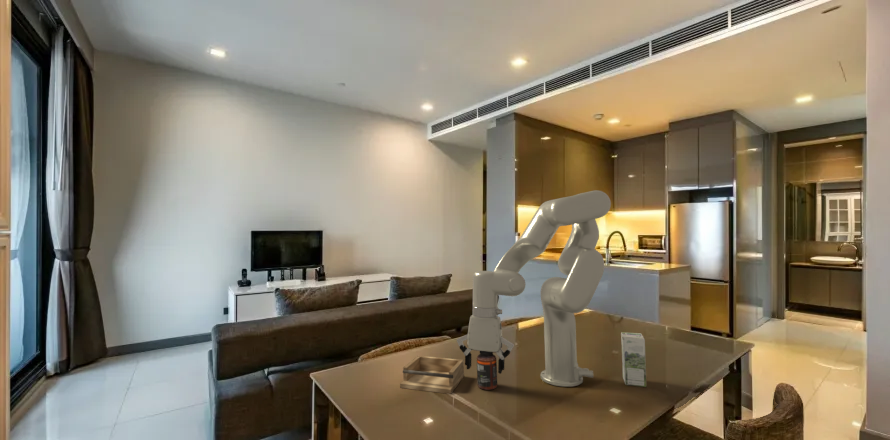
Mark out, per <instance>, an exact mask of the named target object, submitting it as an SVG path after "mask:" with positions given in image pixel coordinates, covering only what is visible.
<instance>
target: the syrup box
mask: <svg viewBox="0 0 890 440" xmlns="http://www.w3.org/2000/svg"><path fill="white" fill-rule="evenodd" d="M620 336H621V338H620V340H621V361H622V363H621V364H622V365H621V366H622V379H623V382H624V384H625V386H633V387H643V388H647V369H646V368H647V366H646V363H647V362H646V361H647V360H646V339H645V338H644V337H645V336H644V335H643V334H642V333H638V332H622V331H621V333H620Z"/></svg>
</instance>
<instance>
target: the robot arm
mask: <svg viewBox="0 0 890 440" xmlns="http://www.w3.org/2000/svg"><path fill="white" fill-rule="evenodd" d="M611 206H612V202H611V199H610V197H609V195H608V194H607V193H606V192H604V191H603V190H597V189H596V190H591V191H586V192H581V193H577V194H574V195H571V196H570V195H569V196H566V197H565V196H564V197H560V198H555V199H550V200H546V201H544V202H543V203H542V204H540V206H539V207H538V208H537V210H536V211H535V213H534V215H533V217H532V218H531V219H530V221H529V223H528V225H527V226H526V228H525V229H524V230H523V233H522V234H521V236H520V237H519V238H518V239H517V240H516V241H515V242H514V243H513V245H512V246H511V247H510V248H509V249H508V250H507V251H506V252H505V254H503V256H502V257H501V259H500V260H499V262H498V264H497V265H496V266H495V268H494V270H493V271H491V270H477V271H475V272H473V275H472V315H470V317H469V323H468V330H467V334H465V335H463V336H460V337H459V338H457V339H456V343H457V345H458V346H459V349H460V350H461V352H462V353H463V356H464V365H465V366H466V370H470V369H471V368H472V353H471V351H476V352H477V351H478V352H480V351H486V352H493V353H496V355H497V356H498V357H499V358H498V361H497V364H498V368H497V369H498V370H497V374H500V375H501V374H502V372H503V371H505V359H506V358H507V357H508V356H509V355H510V354H511V352H512V351H513V348H514V346H515V344H514V343H512V342H511V341H510V340H508V339H506V338H505V337H503V329H502V328H503V327H502V320H501V317H500V316H499V315H502V314H503V309H501V308H499V306H498V297H499V296H505V297H517V296H520V295H521V294H522V293H523V292H524V291H525V288H526V280H525V278H524V277H523V276H522V274H520V273H519V272H520V271H521V269H523V267H524V266H525V265H526V264H527V263H528V262H530V261H531V260H534V259H535V258H537V257H538V256H540V255H541V254H543V253H544V252H545V251H546V249H547V247H548V246H549V245H550V242H551V241H552V239H553V238H554V236H555V234H556V233H557V231H558V229H559V228H560V227H563V226H565V227H566V226H571V232H570V234H569V237H568V239H567V241H566V244H565V246H564V248H563V250H562V252H561V254H560V255H559V258H558V260H557V267H558V269H559V272H561V273H562V274H563V275H565V276H567V277H566V278H565V277H561V276H560V277H558V276H553V277H549V278H547V279H546V280H545V281H544V282H543V283H542V285H541V288H540V301H541V305H542V312H543V313H542V314H543V326H544V327H543V336H544V365H545V366H544V367H545V369H544V370H542V371H541V372H540V379H541V380H542V381H544V382H545V383H547V384H550V385H552V386H557V387H563V388H564V387H565V388H567V387H568V388H569V387H576V386H579V385H581V384H583V382H584V377H587V378H594V370H589V368H586V367H584V368H582V367H581V366H579V363H578V356H577V355H578V354H577V332H576V331H577V327H576V326H577V325H576V317H575V314H579V313H581V312H583V311H584V310H585V309H586V308H587V307H588V306H589V304H590V303H591V301H592V300H593V299H592V298H593V297H594V295H595V293H596V290H597V289H598V286H599V284H600V282H601V279H602V277H603V275H604V271H605V259H604V257H603V255H602V254H601V253H600V251H598V250H597V249H596V247H597V244H598V240H599V238H600V229H599V226H598V223H597V221H596V219H600V218H603V217H604V216H606V215H607V214H608V213H609V211H610V209H611ZM464 341H467V344H466V345H467V347H466V345H465V344H464ZM503 345H505V347H507V349H506V350H505V351H504V350H503Z"/></svg>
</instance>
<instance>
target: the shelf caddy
mask: <svg viewBox="0 0 890 440" xmlns="http://www.w3.org/2000/svg"><path fill="white" fill-rule="evenodd" d="M464 365H465V359H458V358H457V359H456V358H448V357H447V358H446V357H437V356H436V357H435V356H425V355H417V356H415V358H413V359H412V360H411V361H409V362H408V363H407V364H405V365H404V366H403V368H402V369H403V370H402V373H403V380H402V381H401V382H400V383H399V387H400V389H401V388H402V389H410V390H415V391H416V390H417V391H422V392H423V391H426V392H433V393H441V394H446V395H447V394H448V395H451V394H452V393H453V392H454V390H455V389H456V388H457V386H458V385H459V383H460V382H461V381H462V380H463V378H464V376H465V373H464V372H465V366H464Z"/></svg>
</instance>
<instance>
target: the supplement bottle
mask: <svg viewBox="0 0 890 440" xmlns="http://www.w3.org/2000/svg"><path fill="white" fill-rule="evenodd" d="M497 364H498V361H497V357H496V355H495V354H494V352H486V351H479V354H478V355H477V357H476V372H477V373H476V375H477V376H476V377H477V381H476V382H477V387H478V388H479V389H481V390H486V391H491V390H494V389H497V387H498V370H497V369H498V368H497Z"/></svg>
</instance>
